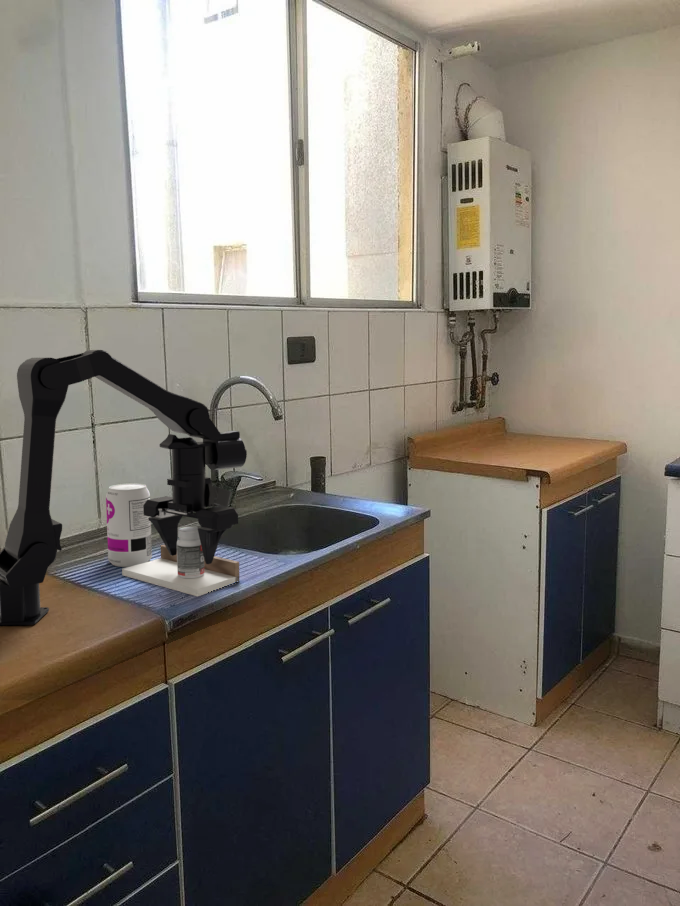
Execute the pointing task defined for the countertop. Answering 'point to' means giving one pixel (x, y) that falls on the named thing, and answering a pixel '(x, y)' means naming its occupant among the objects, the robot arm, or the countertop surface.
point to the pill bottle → (189, 553)
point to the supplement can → (128, 525)
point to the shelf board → (166, 576)
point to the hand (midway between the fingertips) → (190, 559)
